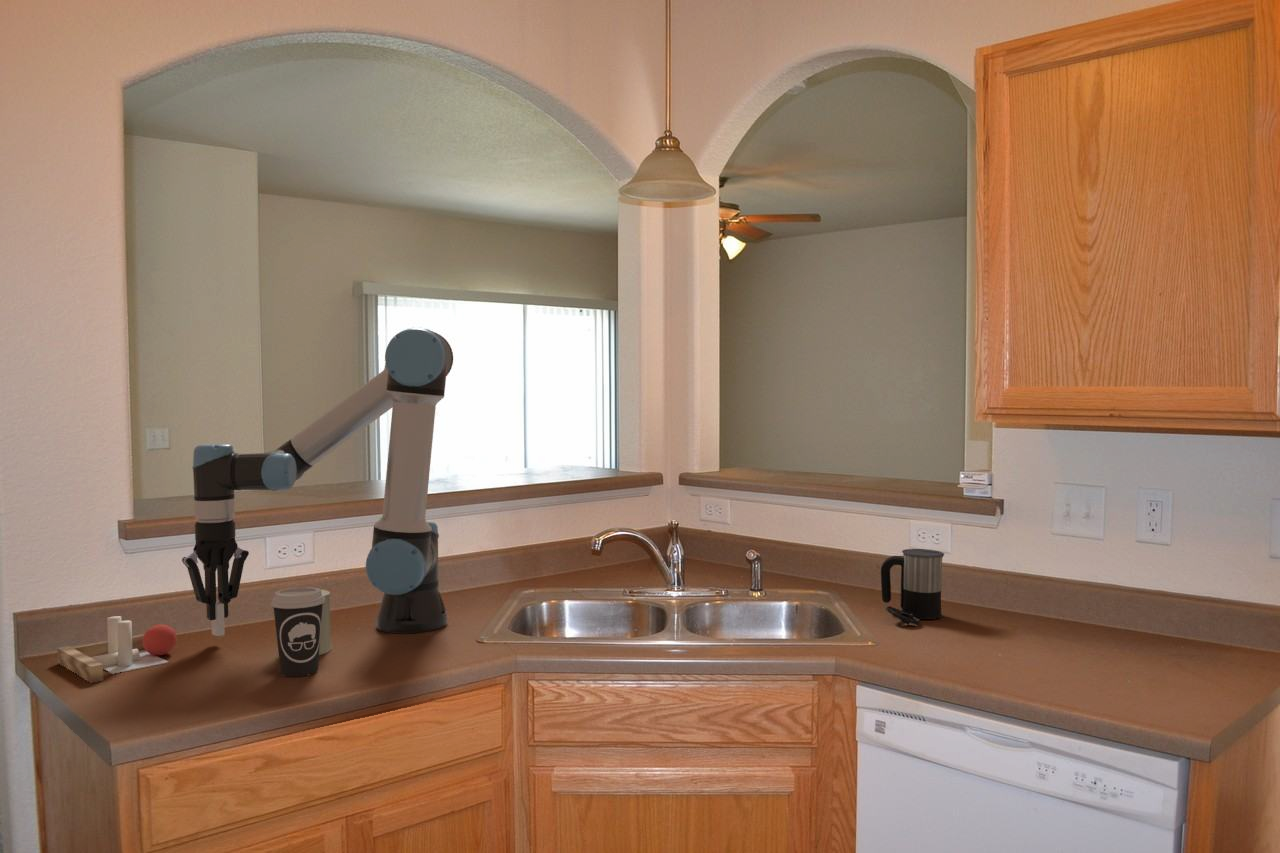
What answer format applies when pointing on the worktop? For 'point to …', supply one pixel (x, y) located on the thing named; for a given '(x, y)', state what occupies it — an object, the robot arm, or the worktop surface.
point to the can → (325, 625)
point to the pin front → (114, 658)
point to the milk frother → (915, 584)
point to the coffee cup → (298, 629)
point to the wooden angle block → (86, 666)
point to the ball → (159, 639)
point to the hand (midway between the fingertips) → (218, 634)
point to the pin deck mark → (138, 663)
